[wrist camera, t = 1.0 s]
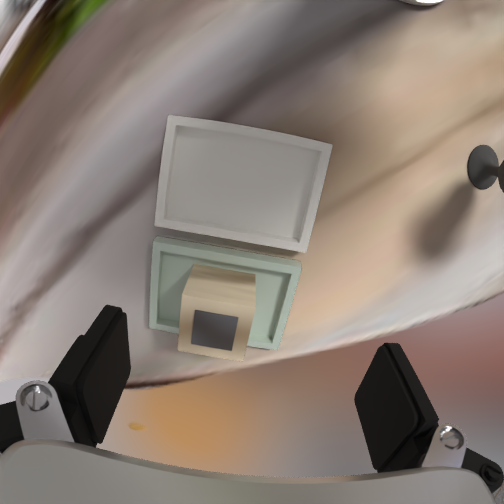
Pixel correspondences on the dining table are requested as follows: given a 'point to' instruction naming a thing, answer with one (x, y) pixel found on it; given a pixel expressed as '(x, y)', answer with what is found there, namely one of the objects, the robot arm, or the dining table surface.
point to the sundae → (485, 168)
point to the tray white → (240, 182)
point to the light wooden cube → (217, 312)
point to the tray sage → (189, 253)
